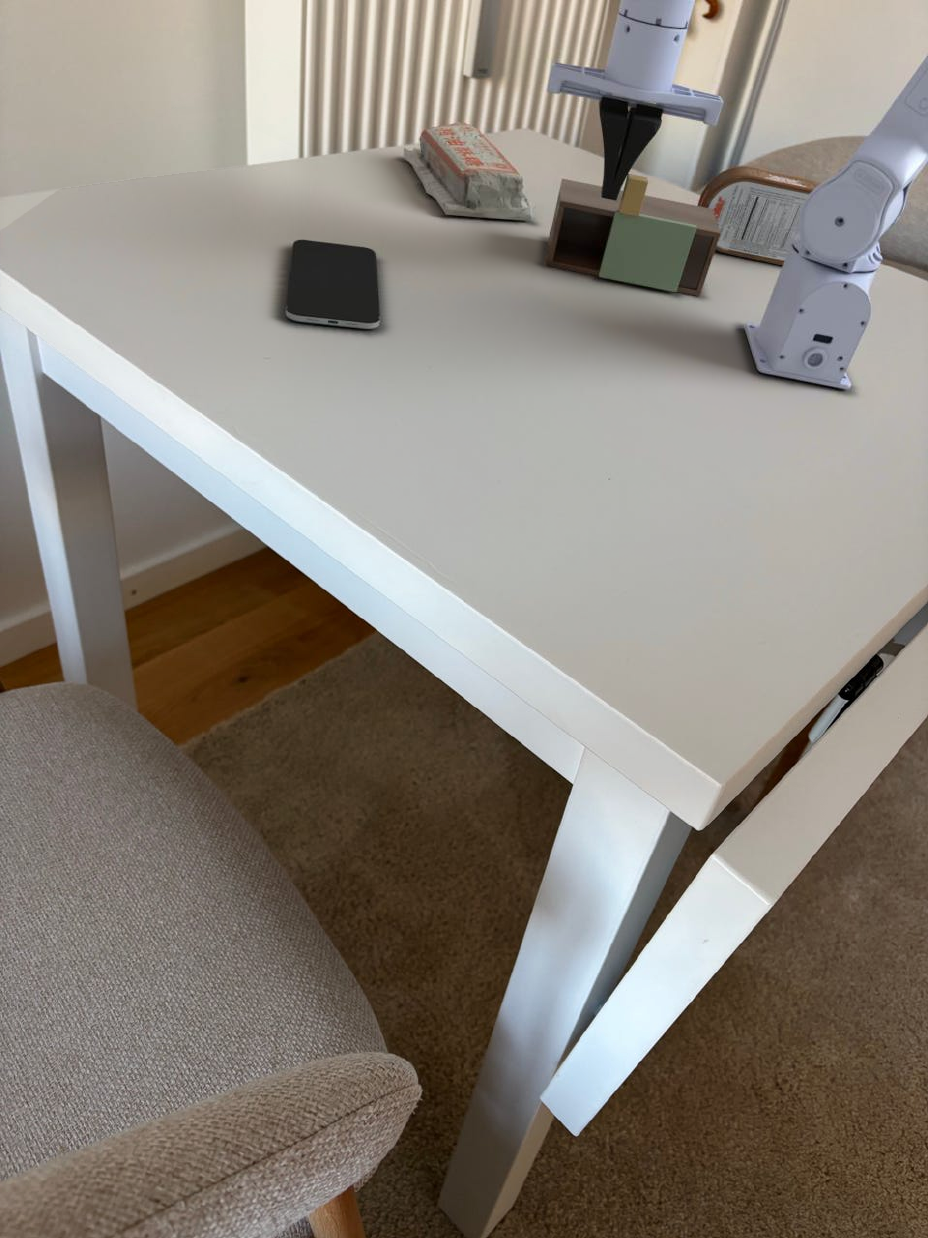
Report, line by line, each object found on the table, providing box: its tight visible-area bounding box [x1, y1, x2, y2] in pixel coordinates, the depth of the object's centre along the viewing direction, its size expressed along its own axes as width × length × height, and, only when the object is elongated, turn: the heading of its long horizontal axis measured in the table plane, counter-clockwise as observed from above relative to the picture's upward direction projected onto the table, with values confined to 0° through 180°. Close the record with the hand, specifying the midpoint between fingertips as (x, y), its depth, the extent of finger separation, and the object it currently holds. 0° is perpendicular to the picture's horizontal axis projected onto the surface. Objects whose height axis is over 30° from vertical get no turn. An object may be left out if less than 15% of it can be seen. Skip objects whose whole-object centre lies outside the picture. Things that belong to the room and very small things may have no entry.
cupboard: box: [545, 178, 721, 297], centre depth 90 cm, size 7×15×6 cm, turn 84°
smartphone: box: [285, 239, 381, 330], centre depth 77 cm, size 7×1×15 cm
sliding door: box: [598, 173, 697, 293], centre depth 85 cm, size 1×8×9 cm, turn 84°
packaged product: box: [403, 121, 536, 222], centre depth 100 cm, size 18×5×10 cm
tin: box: [696, 165, 822, 266], centre depth 97 cm, size 15×3×8 cm, turn 84°
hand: (608, 195), depth 83 cm, fingers closed
